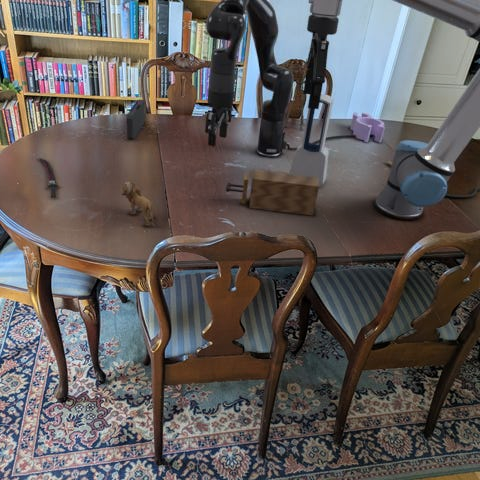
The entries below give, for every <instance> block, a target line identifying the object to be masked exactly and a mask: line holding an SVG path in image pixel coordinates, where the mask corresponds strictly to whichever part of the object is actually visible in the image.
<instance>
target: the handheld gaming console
mask: <svg viewBox="0 0 480 480" xmlns="http://www.w3.org/2000/svg"><path fill="white" fill-rule="evenodd" d="M145 122H146V102H145V99H141V98H140V99H138V100H137V101H136V102H135V103H134V104H133V106H131V108H130V109H129V111H128V113H127V114H126V137H127V139H128V140H134V139H135V138H136V136H138V133H139V132H140V131H141V129H142V127H143V126H144V124H145Z"/></svg>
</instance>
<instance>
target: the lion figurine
mask: <svg viewBox="0 0 480 480" xmlns="http://www.w3.org/2000/svg"><path fill="white" fill-rule="evenodd" d="M119 193H120V194H121V196H122V197H124V196H125V198H126V199H127V200H128V202H129V203H130V207H131V211H130V212H129V213H130V215H135V214H136V211H137V212H141V214H142V216H143V218H144V219H145V223H144V225H145V227H149V226H150V221H152V223H153V225H155V226H159V222H156V221H155V219H154V217H153V216H154V215H153V204H152V202H151V200H150V199H148V198H146V197H145V196H144V195H143V194H142V192H141V190H140V187H138V185H136V184H135V183H133V182H132V181H125V182H124V186H122V188H121V189H119ZM136 207H137V208H136ZM148 214H149V216H148Z"/></svg>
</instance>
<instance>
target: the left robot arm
mask: <svg viewBox="0 0 480 480" xmlns="http://www.w3.org/2000/svg"><path fill="white" fill-rule="evenodd" d="M245 13H246V16H247V21H248V25H249V29H250V33H251V38H252V40H253V43H254V49H255V52H256V57H257V63H258V70H259V77H260V82H261V85H262V87H263V88H264V89H266V90H267V91H270V92H271V93H272V97H271V99H266V100H263V102H262V105H261V114H260V123H259V131H258V138H257V139H258V140H257V148H256V153H257V154H258V155H259V156H262V157H264V158H265V157H266V158H277V157H279V156H281V155H282V154H283V150H286V149H288V150H290V151H296V150H297V148H298V147H290V146H291V145H290V143H288V142H287V141H286V140H285V136H286V130H284V128H285V127H284V125H285V122H286V117H287V116H286V115H287V109H288V107H289V106H290V101H291V96H292V91H293V88H294V79H295V78H294V74H293V73H294V72H293V71H292V70H291V69H289V68H286V67H284V66H280V65H279V64H278V63H277V59H276V56H275V45H276V43H277V40H278V37H279V24H278V19H277V13H276V10H275V9H274V7H273V5H272V4H271V2H269V1H268V0H220V1H218V3H217V4H216V5H215V6H214V7H213V8H212V10H211V11H210V12H209V14H208V16H207V18H206V23H205V30H206V33H207V34H208V36H209V37H210V38H211V39H214V40H218V41H219V40H220V41H225V42H226V41H228V42H229V45H228V46H227V47H221V48H220V47H218V48H215V49H213V50H212V51H211V54H210V69H209V76H208V87H207V103H208V105H210V106H211V111H210V112H208V111H207V112H206V115H205V124H204V125H205V127H204V133H205V134H208V137H207V138H208V139H207V145H208V146H210V147H215V146H216V143H217V133H218V137H219V138H222V139H225V138H227V134H228V127H229V125H230V123H231V122H232V112H233V105H234V98H235V88H236V87H235V86H236V65H237V57H238V53H239V49H240V46H241V43H242V40H243V38H244V35H245V32H246V29H247V23H246V19H245V17H244V15H245ZM218 130H219V131H218ZM373 137H374V135H372V134H370V136H369V138H373ZM340 138H356V135H353V134H345V135H343V134H342V135H333V136H326V140H331V139H340ZM326 140H325V141H326ZM319 141H320V139H317V140H315V141H312V142H311V143H312V144H315V145H317V144H319Z"/></svg>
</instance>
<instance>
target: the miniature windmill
mask: <svg viewBox="0 0 480 480" xmlns="http://www.w3.org/2000/svg"><path fill="white" fill-rule="evenodd" d="M305 60H306V61H305V65H304V67H300V66H299V65H295V64H293V65H292V70H291V71H292V72H293V71H296V72H297V71H298V72H299V71H301V73H300V77H299V79H296V81H295V83H297V85H296V88H295V91H294V95H293V97H292V100H291V103H290V105H289V109H288V112H287V114H286V115H287V116H286V117H285V123H284V128H286V126H287V123H288V121H292V122H300V126H299V127H300V128H299V129H300V130H303V125H304V118H305V116H304V94H303V91H304V85H305V78H306V72H307V60H308V58H306V59H305ZM298 90H301V91H300V92H301V93H300V94H301V95H299V94H297V93H298ZM295 99H296V100H300V104H295V103H294V102H295ZM293 106H297V107H293ZM299 107H300V108H299ZM292 109H293V110H300V115H298V114H292V113H291V111H292ZM290 116H292V117H298V118H300V120H298V119H292V118H290Z"/></svg>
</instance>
